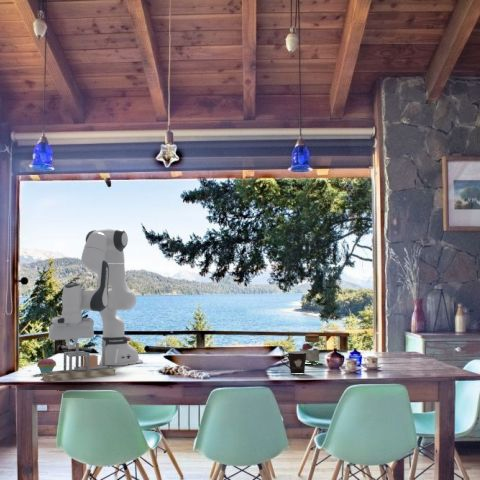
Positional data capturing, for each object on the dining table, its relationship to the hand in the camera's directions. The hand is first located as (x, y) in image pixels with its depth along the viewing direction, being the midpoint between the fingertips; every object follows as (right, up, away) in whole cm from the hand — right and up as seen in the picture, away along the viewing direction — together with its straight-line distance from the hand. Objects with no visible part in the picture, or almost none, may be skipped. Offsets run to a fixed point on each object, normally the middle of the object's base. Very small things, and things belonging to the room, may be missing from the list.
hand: (71, 348), depth 276 cm
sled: (+8, -10, +4) cm, 13 cm away
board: (+3, -13, +1) cm, 13 cm away
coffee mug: (+103, -13, +7) cm, 105 cm away
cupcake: (-15, -14, +10) cm, 22 cm away
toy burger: (+115, -15, +37) cm, 122 cm away
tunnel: (+2, -10, +1) cm, 11 cm away
